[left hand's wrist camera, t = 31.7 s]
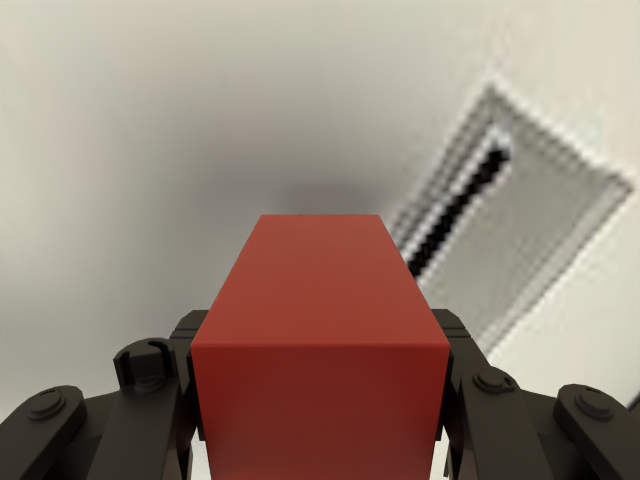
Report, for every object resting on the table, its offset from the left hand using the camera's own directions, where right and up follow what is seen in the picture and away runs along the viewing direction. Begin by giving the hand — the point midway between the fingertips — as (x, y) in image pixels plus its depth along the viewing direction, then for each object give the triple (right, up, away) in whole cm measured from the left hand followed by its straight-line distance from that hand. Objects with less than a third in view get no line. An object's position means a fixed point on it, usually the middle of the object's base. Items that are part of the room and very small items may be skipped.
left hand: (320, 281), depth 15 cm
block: (0, 0, +1) cm, 1 cm away
